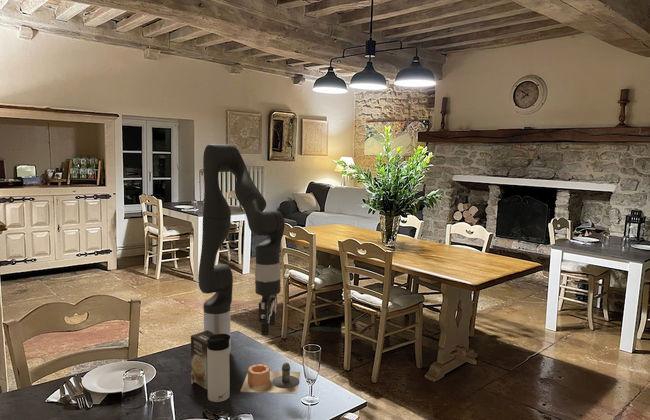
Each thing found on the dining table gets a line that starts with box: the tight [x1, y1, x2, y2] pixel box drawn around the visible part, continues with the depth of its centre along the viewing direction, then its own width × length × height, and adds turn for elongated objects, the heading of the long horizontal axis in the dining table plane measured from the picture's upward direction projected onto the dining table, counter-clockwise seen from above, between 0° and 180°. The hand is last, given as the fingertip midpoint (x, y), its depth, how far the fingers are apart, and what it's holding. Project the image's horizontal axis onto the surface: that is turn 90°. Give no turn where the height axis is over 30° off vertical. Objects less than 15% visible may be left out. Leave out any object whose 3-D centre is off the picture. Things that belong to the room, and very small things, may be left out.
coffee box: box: [190, 330, 216, 391], centre depth 148 cm, size 9×6×16 cm
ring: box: [247, 363, 271, 386], centre depth 149 cm, size 6×6×4 cm
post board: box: [239, 362, 301, 395], centre depth 149 cm, size 17×14×8 cm
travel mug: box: [207, 334, 231, 403], centre depth 138 cm, size 6×7×20 cm
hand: (268, 330), depth 144 cm, fingers open, 8 cm apart
